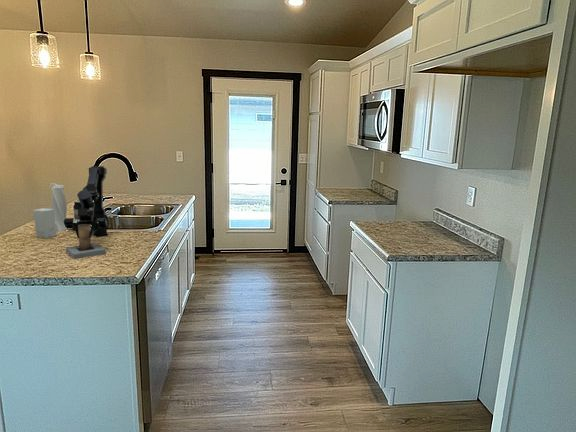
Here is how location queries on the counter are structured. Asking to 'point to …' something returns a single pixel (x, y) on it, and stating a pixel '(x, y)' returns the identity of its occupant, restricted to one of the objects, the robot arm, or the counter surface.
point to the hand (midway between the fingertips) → (83, 237)
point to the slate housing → (76, 252)
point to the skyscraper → (59, 206)
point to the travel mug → (77, 206)
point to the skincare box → (45, 223)
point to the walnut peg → (84, 237)
